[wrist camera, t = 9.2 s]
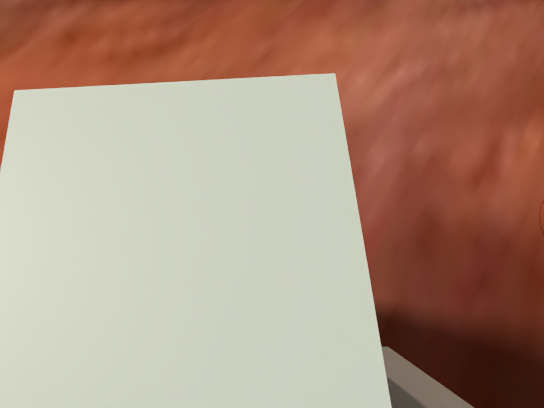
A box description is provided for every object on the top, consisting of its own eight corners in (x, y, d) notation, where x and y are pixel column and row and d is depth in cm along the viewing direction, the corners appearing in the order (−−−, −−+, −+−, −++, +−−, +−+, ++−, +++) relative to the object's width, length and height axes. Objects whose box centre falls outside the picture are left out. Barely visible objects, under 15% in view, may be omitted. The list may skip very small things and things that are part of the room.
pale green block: (204, 435, 16) (-154, 1054, 2) (201, 275, 19) (13, 90, 5) (295, 426, 17) (482, 940, 2) (280, 269, 19) (334, 73, 5)
